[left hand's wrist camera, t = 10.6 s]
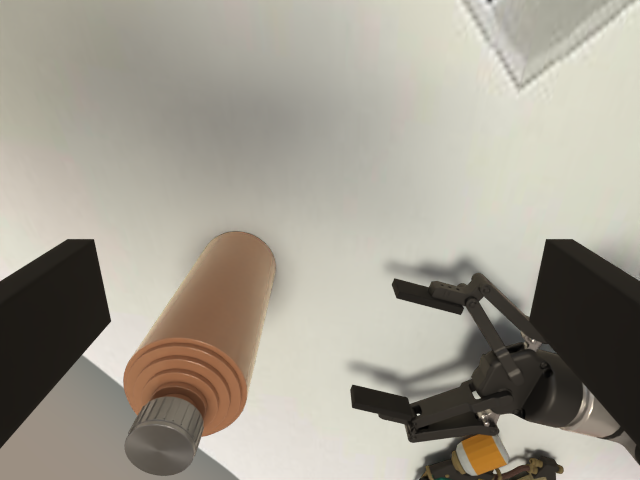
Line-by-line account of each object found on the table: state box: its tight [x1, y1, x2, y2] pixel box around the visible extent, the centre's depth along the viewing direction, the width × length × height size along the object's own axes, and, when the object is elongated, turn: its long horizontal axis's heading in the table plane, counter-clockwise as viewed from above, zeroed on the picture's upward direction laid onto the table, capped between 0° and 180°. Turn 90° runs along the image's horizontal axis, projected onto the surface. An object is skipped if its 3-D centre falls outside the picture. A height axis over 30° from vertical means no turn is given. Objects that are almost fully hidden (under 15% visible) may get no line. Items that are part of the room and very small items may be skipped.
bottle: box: [123, 232, 276, 437], centre depth 35 cm, size 8×8×24 cm
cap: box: [125, 397, 204, 476], centre depth 24 cm, size 4×4×2 cm
